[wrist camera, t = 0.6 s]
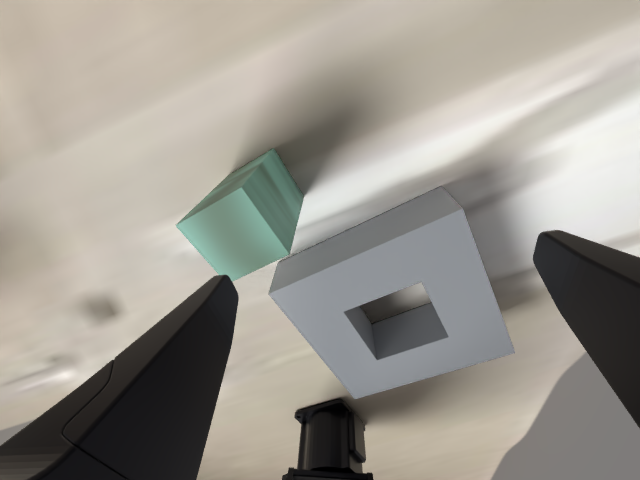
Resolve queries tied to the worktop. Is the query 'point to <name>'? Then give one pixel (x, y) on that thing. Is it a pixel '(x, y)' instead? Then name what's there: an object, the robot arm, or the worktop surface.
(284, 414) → the worktop surface
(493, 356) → the socket block
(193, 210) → the peg
